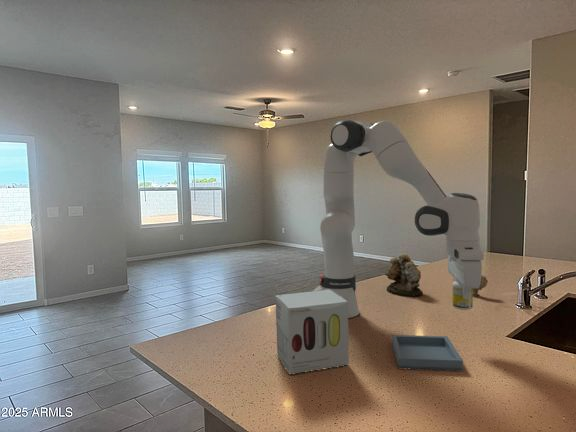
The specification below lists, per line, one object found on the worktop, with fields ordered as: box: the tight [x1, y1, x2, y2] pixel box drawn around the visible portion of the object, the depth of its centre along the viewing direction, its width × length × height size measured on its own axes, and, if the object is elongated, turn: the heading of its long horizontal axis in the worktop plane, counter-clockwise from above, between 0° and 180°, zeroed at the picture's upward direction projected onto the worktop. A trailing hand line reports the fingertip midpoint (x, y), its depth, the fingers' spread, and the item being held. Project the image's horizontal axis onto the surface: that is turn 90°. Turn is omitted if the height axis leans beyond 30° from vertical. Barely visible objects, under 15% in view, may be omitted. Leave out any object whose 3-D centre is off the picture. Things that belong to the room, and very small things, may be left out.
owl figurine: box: [384, 253, 424, 298], centre depth 172 cm, size 18×12×17 cm, turn 39°
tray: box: [391, 334, 464, 372], centre depth 109 cm, size 16×16×3 cm
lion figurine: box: [473, 275, 489, 298], centre depth 165 cm, size 15×5×9 cm, turn 35°
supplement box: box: [275, 289, 350, 375], centre depth 108 cm, size 17×13×18 cm
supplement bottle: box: [452, 275, 474, 311], centre depth 115 cm, size 5×5×10 cm
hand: (462, 295), depth 115 cm, fingers closed on supplement bottle, 5 cm apart
